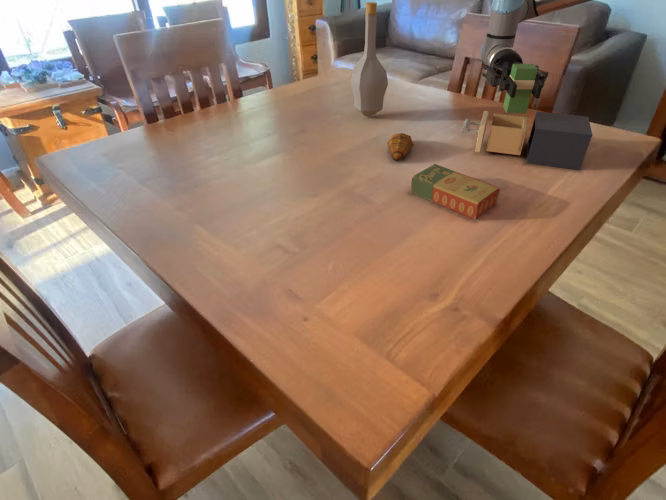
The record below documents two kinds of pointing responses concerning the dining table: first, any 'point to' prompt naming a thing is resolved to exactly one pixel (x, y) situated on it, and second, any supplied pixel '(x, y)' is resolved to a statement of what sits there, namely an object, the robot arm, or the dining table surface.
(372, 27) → the bottle
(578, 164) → the cabinet
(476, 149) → the drawer
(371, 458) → the dining table surface
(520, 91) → the block
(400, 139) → the croissant
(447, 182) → the carton
